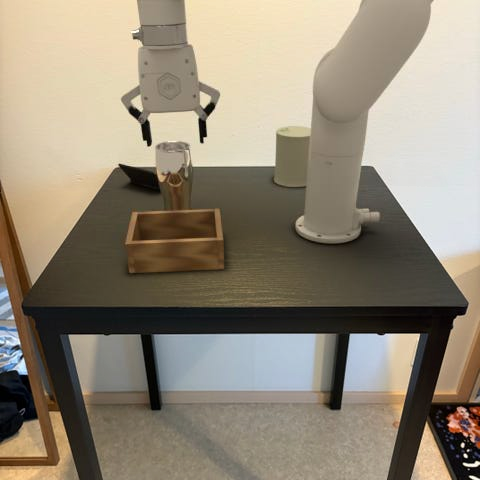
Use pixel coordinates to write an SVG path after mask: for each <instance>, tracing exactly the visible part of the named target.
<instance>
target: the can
mask: <svg viewBox="0 0 480 480" xmlns="http://www.w3.org/2000/svg"><path fill="white" fill-rule="evenodd" d="M310 133H311V127H308V126H302V125H289V126H283V127H282V126H281V127H280V128H277V129H276V130H275V161H274V162H275V165H274V178H273V181H274V183H275V184H277V185H279V186H282V187H286V188H303V187H306V183H307V170H308V157H309V146H310Z"/></svg>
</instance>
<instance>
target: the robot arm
mask: <svg viewBox="0 0 480 480" xmlns="http://www.w3.org/2000/svg"><path fill="white" fill-rule="evenodd" d="M433 2H434V0H361V2H360V4H359V7H358V11H357V12H356V14H355V16H354V17H353V19H352V20H351V22H350V23H349V25H348V27H347V28H346V30H345V31H344V32H343V34H342V36H341V37H340V39H339V40H338V42H337V44H336V45H335V46H334V47H333V48H331V49H330V50H328V51H327V52H326V53H325V54H324V55H323V56H322V57H321V58H320V60H319V61H318V64H317V66H316V68H315V71H314V75H313V80H312V82H313V83H312V109H311V122H310V128H311V133H310V146H309V157H308V170H307V183H306V186H305V198H304V199H305V200H304V212H303V215H301V216H300V217H298V218H297V219H296V221H295V227H294V228H295V231H296V233H297V234H298V235H299V236H300V237H302V238H304V239H306V240H309V241H311V242H314V243H322V244H328V245H329V244H344V243H348V242H351V241H353V240H355V239H357V238H358V237H359V236H360V235H361V231H362V225H363V223H379V222H380V219H381V215H380V212H379V211H370V209H369V208H358V207H357V199H358V194H359V193H358V192H359V185H360V179H361V171H362V170H361V169H362V163H363V155H364V151H365V144H366V137H367V130H368V129H367V127H368V120H369V113H370V109H371V108H372V107H373V106H374V104H376V102H377V101H378V100H379V98H380V97H381V96H382V94H384V92H385V91H386V89H387V88H388V87H389V85H390V84H391V83H392V82H393V80H394V79H395V78H396V76H397V75H398V74H399V72H400V71H401V69H402V68H403V67H404V66H405V64H406V63H407V62H408V61H409V59H410V58H411V56H412V55H413V53H414V52H415V50H416V49H417V48H418V46H420V43H421V42H422V40H423V38H424V36H425V34H426V32H427V30H428V28H429V25H430V22H431V21H430V20H431V16H432V15H431V13H432V7H431V6H432V5H431V4H432V3H433ZM136 5H137V13H138V20H139V27H138V28H136V29H134V30H133V29H132V30H131V36H132V40H137V41H139V42H140V43H141V44H142V46H140V47H138V50H137V70H138V71H137V72H138V84H137V85H136V86H135V87H134V88H132V89H130V90H129V91H128V92H127V91H126V93H124V94H123V95H122V96H121V98H120V101H121V103H122V104H123V106H124V107H125V109H126V110H127V112H128V114H129V115H130V116H131V117H133V118H134V119H135V120H136V121H137V122H138V123H139V124H140V130H141V137H142V141H143V142H146V147H147V148H148V147H151V146H152V145H153V137H152V131H151V123H150V120H149V116H150V115H151V114H166V113H185V112H194V113H195V114H196V115H197V116H198V118H197V123H198V124H197V125H198V134H199V143H200V144H201V145H203V144H205V141H204V140H205V139H204V138H208V130H207V129H208V127H207V120H208V118H209V117H210V115H211V114H212V113H213V112H214V111H215V109H216V106H217V104H218V103H219V99H220V97H221V92H220V90H218V89H216V88H214V87H212V86H210V85H208V84H206V83H204V82H202V81H200V80H199V71H198V64H197V59H196V53H195V51H194V45H192V44H190V43H189V39H188V27H187V26H188V25H187V14H186V1H185V0H136ZM201 93H203V94H205V95H208V97H209V96H210V99H209V101H208V103H207V104H206V105H205V107H204V106H202V105H201ZM138 96H140V101H141V107H142V111H141V110H140V109H138V108H137V107H136V106H135V105H134V104H133V101H132V100H134V99H135V98H136V97H138Z"/></svg>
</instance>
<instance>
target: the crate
mask: <svg viewBox="0 0 480 480" xmlns="http://www.w3.org/2000/svg"><path fill="white" fill-rule="evenodd" d="M222 225H223V224H222V217H221V211H220V208H207V209H204V208H202V209H192V210H175V211H164V210H154V211H153V210H151V211H132V213H131V217H130V221H129V225H128V230H127V233H126V239H125V243H124V248H125V253H126V259H127V266H128V272H129V274H144V273H145V274H147V273H169V272H191V271H212V270H224V269H225V249H224V247H225V246H224V234H223V233H224V232H223V226H222Z"/></svg>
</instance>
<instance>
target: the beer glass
mask: <svg viewBox="0 0 480 480" xmlns="http://www.w3.org/2000/svg"><path fill="white" fill-rule="evenodd" d="M154 153H155V155H154V156H155V172H156V174H157V178H158V183H159V186H160V190H161V191H160V190H159V191H160V194H161V197H162V201H163V208H164V209H163V211H175V210H193V209H192V192H193V191H192V190H193V189H192V188H193V181H194V166H193V165H194V164H193V156H192V149H191V144H190V143H189V142H186V141H182V140H181V141H180V140H168V141H163V142H159V143H157V144H155V146H154Z"/></svg>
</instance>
